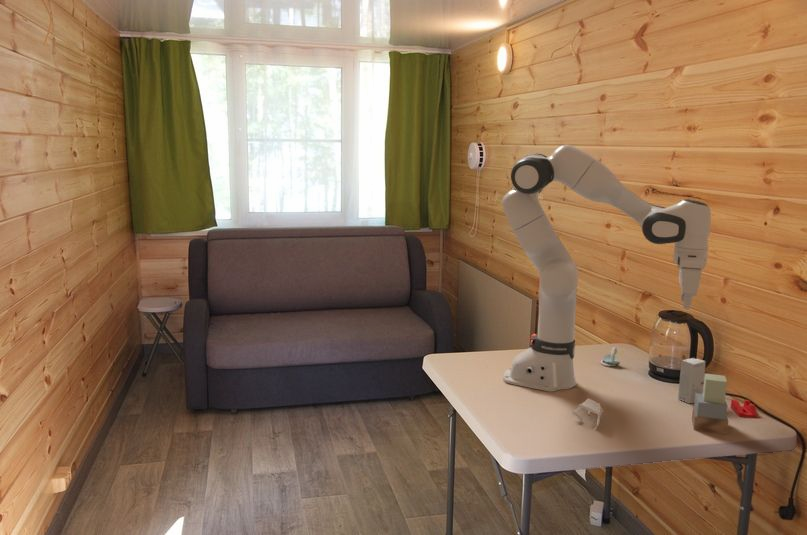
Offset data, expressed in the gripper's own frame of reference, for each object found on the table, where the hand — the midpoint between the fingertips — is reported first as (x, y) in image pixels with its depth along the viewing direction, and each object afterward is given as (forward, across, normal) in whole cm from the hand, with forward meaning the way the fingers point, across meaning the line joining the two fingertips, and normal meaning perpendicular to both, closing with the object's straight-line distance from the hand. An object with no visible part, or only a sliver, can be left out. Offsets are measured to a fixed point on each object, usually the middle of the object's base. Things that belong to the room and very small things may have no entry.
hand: (685, 304), depth 195 cm
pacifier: (+29, -28, -20) cm, 45 cm away
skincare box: (+29, -2, +4) cm, 30 cm away
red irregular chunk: (+30, +3, +18) cm, 35 cm away
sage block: (+21, +16, +8) cm, 28 cm away
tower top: (+25, +17, +7) cm, 31 cm away
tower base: (+29, +17, +8) cm, 35 cm away
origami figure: (+29, +26, -23) cm, 46 cm away
